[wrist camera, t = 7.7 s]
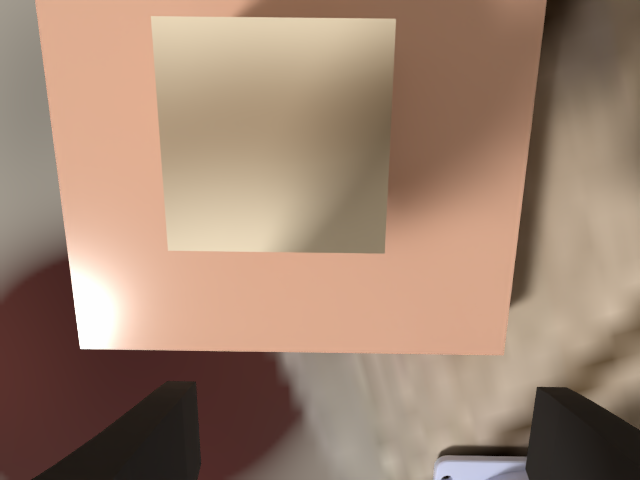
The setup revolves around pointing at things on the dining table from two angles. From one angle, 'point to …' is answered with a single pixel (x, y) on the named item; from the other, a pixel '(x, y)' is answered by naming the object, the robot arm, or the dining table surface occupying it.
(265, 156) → the birch block
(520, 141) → the terracotta base
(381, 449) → the dining table surface
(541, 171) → the dining table surface
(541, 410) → the robot arm
